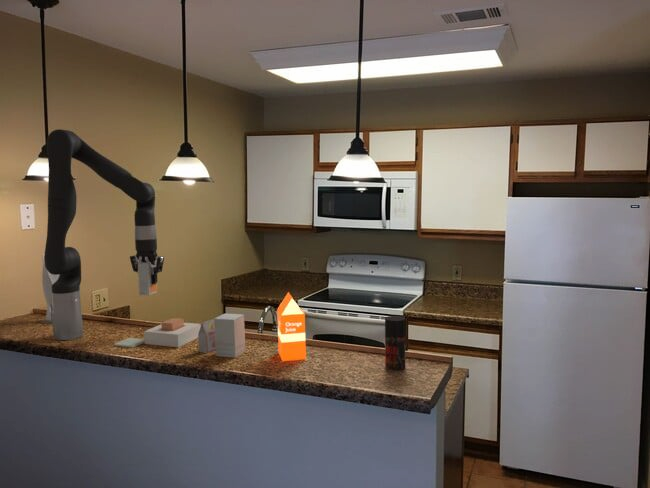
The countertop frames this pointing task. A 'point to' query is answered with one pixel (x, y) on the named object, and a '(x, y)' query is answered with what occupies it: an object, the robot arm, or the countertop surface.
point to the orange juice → (291, 330)
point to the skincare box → (145, 279)
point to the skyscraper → (48, 291)
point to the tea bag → (207, 337)
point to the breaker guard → (172, 335)
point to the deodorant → (395, 343)
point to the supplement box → (229, 335)
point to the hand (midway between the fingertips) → (148, 283)
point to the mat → (130, 342)
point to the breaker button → (172, 324)
